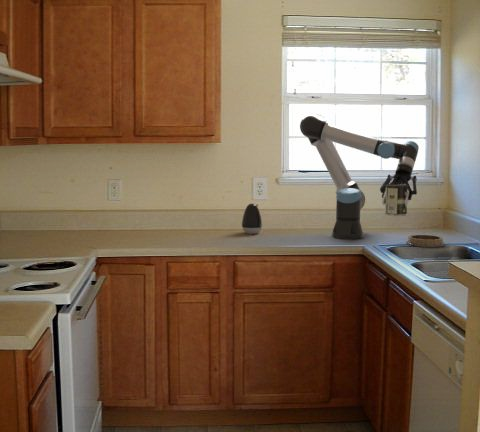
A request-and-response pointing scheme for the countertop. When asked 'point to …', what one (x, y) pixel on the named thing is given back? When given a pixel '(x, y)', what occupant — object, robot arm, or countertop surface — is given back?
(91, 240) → the countertop surface
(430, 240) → the collar
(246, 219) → the black egg-shaped speaker
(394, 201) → the coffee can
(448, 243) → the countertop surface
